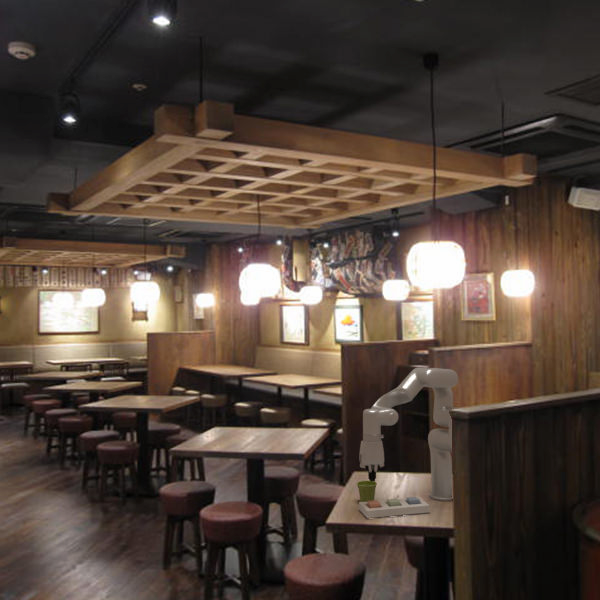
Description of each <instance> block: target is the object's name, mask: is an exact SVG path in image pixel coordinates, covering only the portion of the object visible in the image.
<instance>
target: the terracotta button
mask: <svg viewBox="0 0 600 600" xmlns="http://www.w3.org/2000/svg"><path fill="white" fill-rule="evenodd" d="M379 501H380V500H378V499H374V500H373V501H367V505H368V507H369V508H379V507H380V502H379Z"/></svg>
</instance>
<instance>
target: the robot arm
mask: <svg viewBox="0 0 600 600" xmlns="http://www.w3.org/2000/svg"><path fill="white" fill-rule="evenodd" d="M458 375H459V374H457V372H456V371H455V370H454V369H450V368H440V367H431V368H429V367H416V368H413V369H412V371H410V372H409V373H408V375H407V376H406V377H405V378H404V379H403V380H402V381H401V383H400V384H399V385H398V386H397V387H395V388H394V389H391V390H390V391H389V392H387V393H385V394H382V395H381V396H380V397H379V398H378V399H377V400H376V401H375V403H374V404H373V405H372V406H371V408H366V409H363V411H362V440H361V442H360V447H359V457H358V458H359V467H360V468H362V469H366V471H367V472H368V476H367V477H368V481H371V482H373V481H374V482H376V479H377V472H378V470H379V469H380V468H383V467H385V451H384V444H383V441H382V439H384V437H385V435H384V434H381V433H382V432H381V426H393V425H396V423H398V421H399V413H398V412H397V410H396V409H394V407H396V406H399V405H403V404H406V403H409V402H412V401H413V399H414V398H415V397H416V396H417V395H418V393H419V392H420V391H421V390H422V389H423V388H424V387H425V388H432V390H433V393H434V400H433V401H434V402H433V404H434V405H433V413H432V416H433V422H434V423H435V424H436V425H438V426H441V427H445V428H446V427H447V428H448V429H443V428H433V429H432V430H430V431H429V433H428V437H427V440H428V441H427V442H428V447H429V451H430V452H429V453H430V472H431V473H430V474H431V475H430V477H431V491H429V492H428V494H427V495H428V497H429V499H432V500H435V501H441V502H442V501H445V502H447V501H453V500H452V486H453V464H452V463H453V461H452V460H453V459H452V455H451V453H452V419H451V416H450V414H449V411H450V410H452V409H460V408H459V407H454V394H453V390H452V388H454V387H455V386H457V384H458V381H459V376H458Z"/></svg>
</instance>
